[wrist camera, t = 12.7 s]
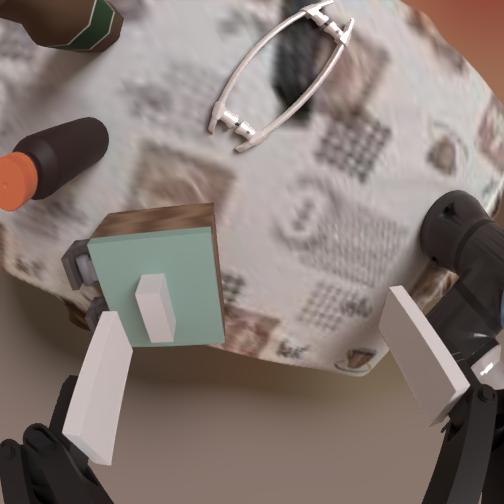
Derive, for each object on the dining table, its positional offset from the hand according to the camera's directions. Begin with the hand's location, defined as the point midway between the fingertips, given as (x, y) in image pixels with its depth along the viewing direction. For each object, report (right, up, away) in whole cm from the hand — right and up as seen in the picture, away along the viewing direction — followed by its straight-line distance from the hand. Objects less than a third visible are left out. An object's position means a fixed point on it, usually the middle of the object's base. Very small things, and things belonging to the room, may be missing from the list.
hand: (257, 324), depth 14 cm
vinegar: (-23, +19, +22) cm, 37 cm away
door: (-14, -2, +26) cm, 30 cm away
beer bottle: (-21, +33, +14) cm, 42 cm away
